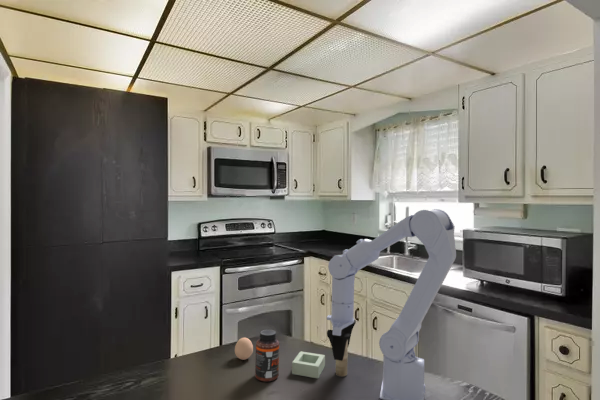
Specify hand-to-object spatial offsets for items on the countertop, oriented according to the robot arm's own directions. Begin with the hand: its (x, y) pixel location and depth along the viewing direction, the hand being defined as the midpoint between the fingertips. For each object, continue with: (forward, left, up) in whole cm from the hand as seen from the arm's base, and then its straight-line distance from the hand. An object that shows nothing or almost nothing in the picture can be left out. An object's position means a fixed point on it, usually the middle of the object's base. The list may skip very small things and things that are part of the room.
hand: (341, 353), depth 92 cm
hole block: (+8, +1, -5) cm, 10 cm away
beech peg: (0, 0, -5) cm, 5 cm away
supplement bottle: (+17, +8, -6) cm, 20 cm away
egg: (+27, +1, -6) cm, 28 cm away
